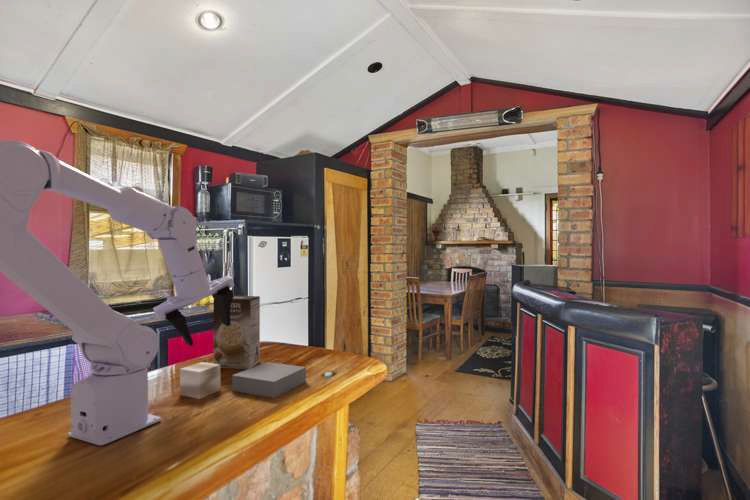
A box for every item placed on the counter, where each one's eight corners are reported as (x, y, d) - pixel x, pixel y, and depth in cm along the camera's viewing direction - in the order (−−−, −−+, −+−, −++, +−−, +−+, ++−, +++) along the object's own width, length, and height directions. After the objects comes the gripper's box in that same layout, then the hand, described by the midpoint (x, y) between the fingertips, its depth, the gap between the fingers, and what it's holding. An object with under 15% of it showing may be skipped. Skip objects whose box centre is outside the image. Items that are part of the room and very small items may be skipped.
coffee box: (211, 368, 93) (211, 298, 93) (224, 361, 100) (224, 295, 100) (250, 369, 92) (249, 298, 92) (261, 361, 99) (260, 295, 99)
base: (274, 398, 74) (274, 381, 74) (232, 390, 78) (232, 375, 78) (305, 381, 83) (305, 367, 83) (266, 376, 87) (266, 361, 87)
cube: (199, 399, 74) (199, 371, 74) (180, 395, 76) (179, 368, 76) (220, 390, 79) (220, 364, 79) (201, 387, 81) (201, 362, 81)
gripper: (214, 252, 82) (232, 311, 87) (138, 282, 73) (163, 346, 78) (231, 258, 77) (249, 320, 82) (151, 290, 68) (178, 358, 73)
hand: (208, 333), depth 79 cm, fingers open, 7 cm apart
